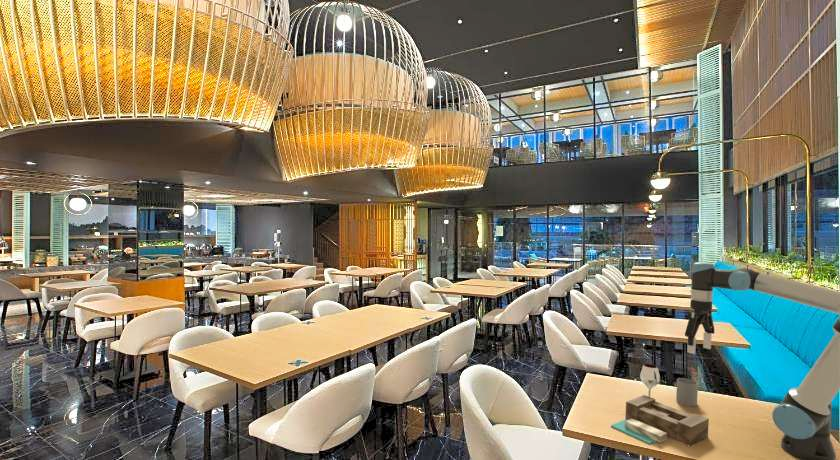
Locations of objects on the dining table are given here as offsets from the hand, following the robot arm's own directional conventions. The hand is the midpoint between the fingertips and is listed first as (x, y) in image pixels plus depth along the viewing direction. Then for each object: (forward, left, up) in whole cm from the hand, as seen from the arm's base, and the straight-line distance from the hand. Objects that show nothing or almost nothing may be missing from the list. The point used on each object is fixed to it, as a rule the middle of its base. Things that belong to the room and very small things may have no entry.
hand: (699, 350), depth 178 cm
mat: (+10, +26, -32) cm, 42 cm away
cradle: (+6, +13, -32) cm, 35 cm away
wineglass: (+22, -4, -32) cm, 39 cm away
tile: (+7, +26, -31) cm, 41 cm away
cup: (+14, -22, -32) cm, 41 cm away
